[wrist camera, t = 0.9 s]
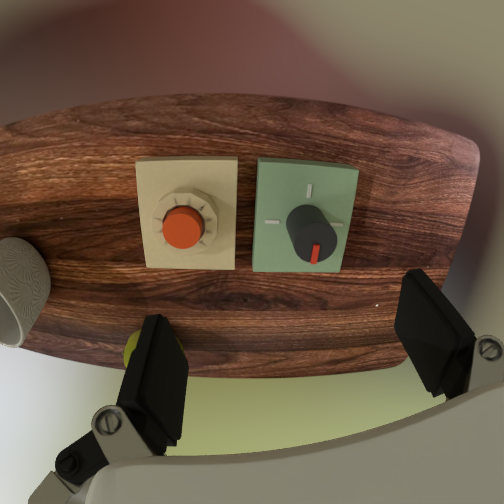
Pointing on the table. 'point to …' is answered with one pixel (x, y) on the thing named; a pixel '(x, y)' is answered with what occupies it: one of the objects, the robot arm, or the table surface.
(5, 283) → the planter
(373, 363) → the table surface
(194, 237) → the stop button
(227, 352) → the table surface
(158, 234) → the button base
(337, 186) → the dial base
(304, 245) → the dial
